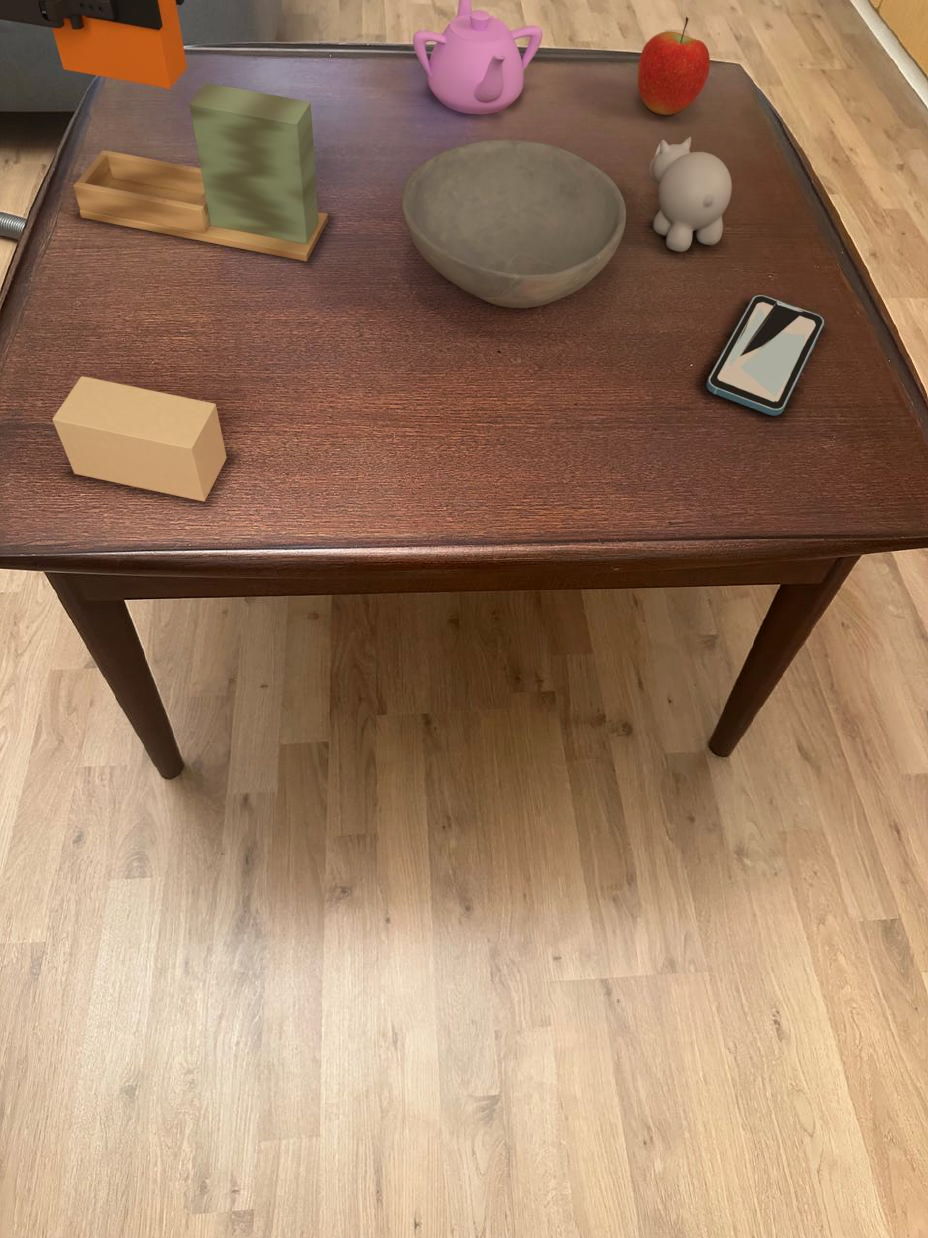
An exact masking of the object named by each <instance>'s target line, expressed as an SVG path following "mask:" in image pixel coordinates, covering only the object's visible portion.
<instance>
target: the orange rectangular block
mask: <svg viewBox="0 0 928 1238" xmlns="http://www.w3.org/2000/svg"><path fill="white" fill-rule="evenodd" d="M158 3H159V9H160V14H161V19H162V25H163V27H162V28H161V29H160V30H155V29H150V28H144V27H138V26H133V25H127V24H122V23H116V22H111V21H105V20H100V19H94V18H89V17H85V16H83V15H82V19H83V23H84V27H83V28H82V29H78V30H74V29H72V26H71V22H70V19H67V18H64V19H63V20H64V24H65V25H64V26H63V27H62V28H51V29H52V32H53V36H54V39H55V44H56V47H57V50H58V54H59V58H60V61H61V65H62V68H63V70H65V71H70V72H77V73H81V74H88V75H92V76H98V77H104V78H108V79H114V80H120V81H124V82H130V83H135V84H142V85H146V86H152V87H157V88H163V89H168V90H171V89H172V87H173V86H174V85H175V84H176V82H177V81H178V80H179V79H180V78H181V76H182V75H183V74H184V72H185V71H186V70H187V68H188V65H187V58H186V53H185V48H184V47H185V45H184V41H183V34H182V29H181V24H180V18H179V13H178V12H179V11H178V5H176V0H158Z"/></svg>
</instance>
